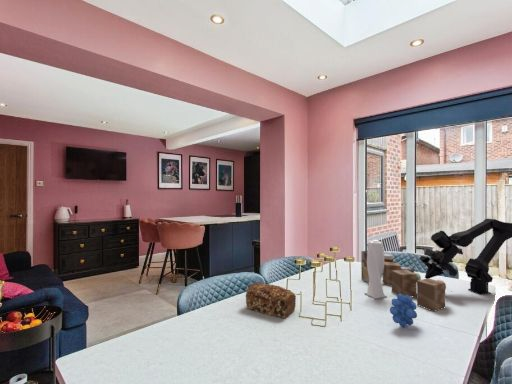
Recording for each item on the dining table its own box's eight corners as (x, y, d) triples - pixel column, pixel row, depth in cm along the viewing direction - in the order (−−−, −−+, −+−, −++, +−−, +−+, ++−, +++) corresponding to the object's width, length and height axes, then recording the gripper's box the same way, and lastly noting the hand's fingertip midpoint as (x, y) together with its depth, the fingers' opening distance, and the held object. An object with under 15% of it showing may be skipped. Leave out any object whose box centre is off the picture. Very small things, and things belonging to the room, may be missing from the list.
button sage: (414, 280, 135) (414, 271, 135) (420, 283, 130) (420, 273, 130) (398, 280, 134) (398, 271, 134) (404, 283, 130) (404, 274, 130)
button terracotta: (435, 288, 123) (435, 278, 123) (446, 292, 119) (446, 281, 119) (423, 291, 119) (423, 281, 119) (434, 295, 115) (434, 284, 115)
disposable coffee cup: (397, 276, 160) (397, 256, 160) (380, 276, 160) (380, 256, 160) (389, 272, 169) (389, 252, 169) (373, 272, 169) (374, 252, 169)
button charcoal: (412, 273, 147) (412, 264, 147) (414, 275, 142) (414, 267, 142) (395, 272, 149) (395, 263, 149) (396, 274, 145) (396, 265, 145)
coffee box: (381, 283, 148) (381, 253, 148) (372, 284, 146) (372, 254, 146) (370, 278, 157) (370, 250, 157) (360, 279, 155) (360, 250, 155)
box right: (428, 301, 122) (428, 278, 123) (445, 307, 116) (445, 282, 116) (417, 305, 119) (417, 280, 119) (433, 311, 113) (433, 285, 113)
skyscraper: (389, 298, 126) (389, 237, 126) (376, 301, 123) (376, 238, 124) (375, 292, 134) (375, 235, 134) (362, 294, 131) (362, 235, 131)
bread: (244, 309, 114) (245, 285, 114) (258, 301, 123) (258, 278, 123) (285, 320, 104) (285, 294, 104) (296, 310, 113) (296, 286, 113)
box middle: (407, 291, 136) (407, 270, 136) (416, 296, 129) (416, 274, 129) (391, 291, 135) (391, 270, 135) (400, 297, 128) (400, 274, 128)
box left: (398, 282, 150) (398, 262, 150) (401, 286, 143) (401, 266, 143) (382, 280, 153) (382, 261, 153) (384, 284, 146) (384, 264, 146)
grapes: (400, 335, 93) (400, 299, 94) (385, 326, 100) (385, 292, 100) (426, 330, 97) (426, 296, 97) (410, 321, 103) (410, 289, 103)
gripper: (422, 240, 143) (402, 262, 142) (450, 246, 124) (428, 272, 123) (437, 254, 143) (417, 276, 142) (467, 263, 125) (445, 289, 124)
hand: (425, 278), depth 133 cm, fingers closed
